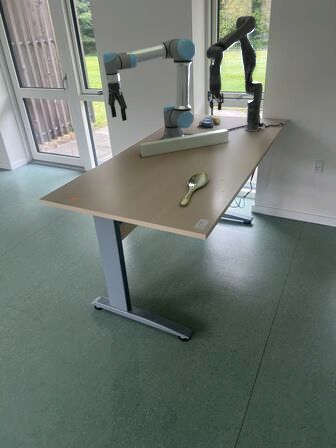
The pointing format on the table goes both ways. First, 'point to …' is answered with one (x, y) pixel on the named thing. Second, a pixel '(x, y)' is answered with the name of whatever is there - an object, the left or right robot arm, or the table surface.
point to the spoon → (195, 184)
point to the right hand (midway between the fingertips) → (215, 108)
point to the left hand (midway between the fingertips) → (119, 118)
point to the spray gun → (209, 121)
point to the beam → (183, 142)
